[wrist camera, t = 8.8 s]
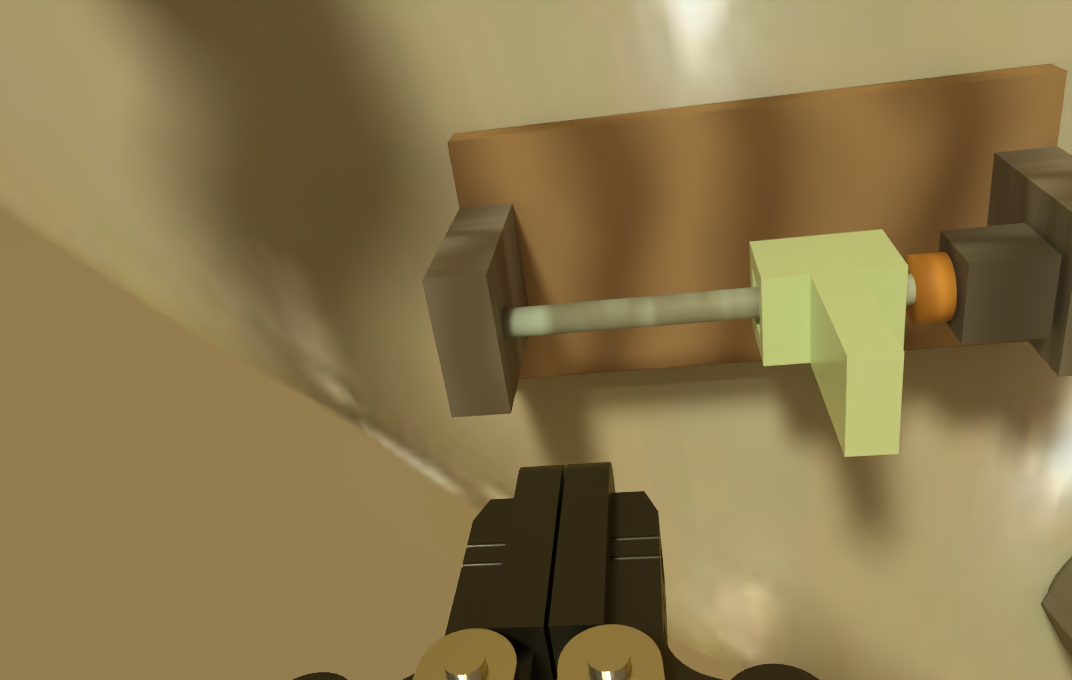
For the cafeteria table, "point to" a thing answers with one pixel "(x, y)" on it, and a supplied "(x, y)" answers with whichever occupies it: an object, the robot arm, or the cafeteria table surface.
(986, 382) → the cafeteria table surface
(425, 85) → the cafeteria table surface
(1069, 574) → the coffeepot
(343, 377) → the cafeteria table surface
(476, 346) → the lead screw stage
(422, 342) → the cafeteria table surface
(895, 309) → the pale green tee block
